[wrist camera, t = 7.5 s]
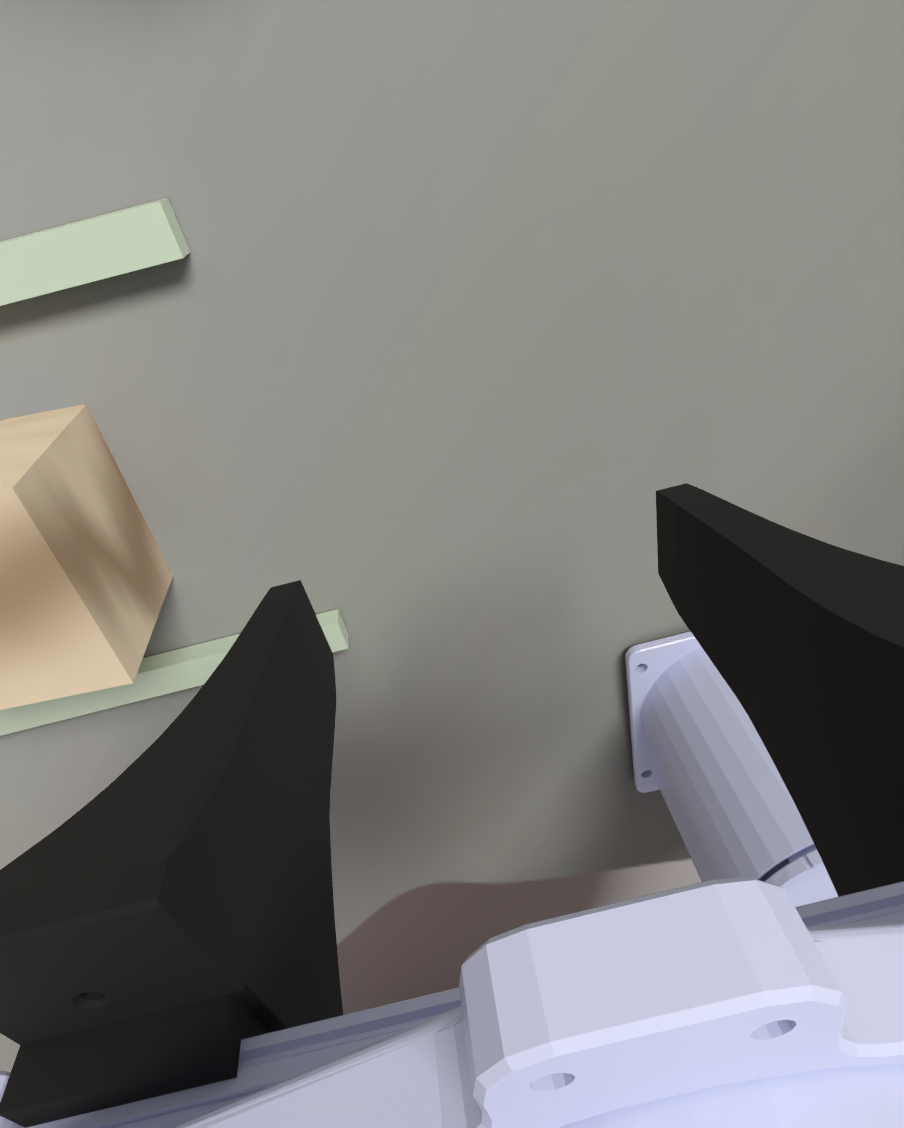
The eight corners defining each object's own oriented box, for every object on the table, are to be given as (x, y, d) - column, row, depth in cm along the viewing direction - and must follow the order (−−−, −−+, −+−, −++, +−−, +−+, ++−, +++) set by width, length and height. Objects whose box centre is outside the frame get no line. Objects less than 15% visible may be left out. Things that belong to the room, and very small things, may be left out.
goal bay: (348, 633, 24) (348, 648, 23) (-24, 727, 24) (-35, 744, 23) (167, 197, 15) (160, 201, 15) (-401, 347, 16) (-434, 357, 15)
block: (173, 574, 21) (133, 683, 17) (-8, 610, 21) (-92, 728, 17) (87, 402, 18) (12, 487, 14) (-131, 444, 18) (-271, 542, 14)
